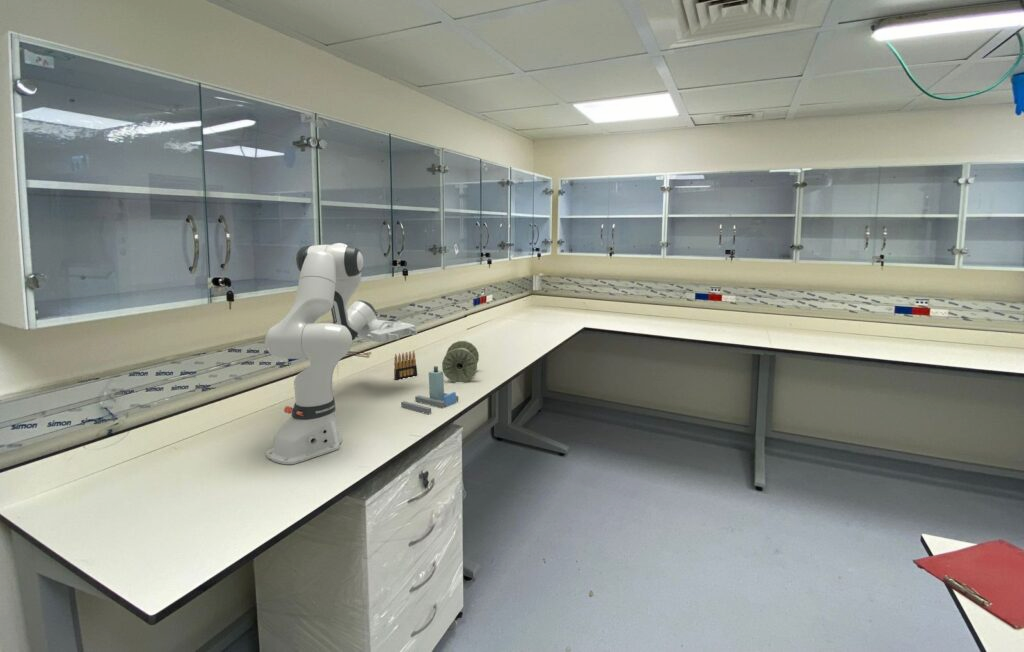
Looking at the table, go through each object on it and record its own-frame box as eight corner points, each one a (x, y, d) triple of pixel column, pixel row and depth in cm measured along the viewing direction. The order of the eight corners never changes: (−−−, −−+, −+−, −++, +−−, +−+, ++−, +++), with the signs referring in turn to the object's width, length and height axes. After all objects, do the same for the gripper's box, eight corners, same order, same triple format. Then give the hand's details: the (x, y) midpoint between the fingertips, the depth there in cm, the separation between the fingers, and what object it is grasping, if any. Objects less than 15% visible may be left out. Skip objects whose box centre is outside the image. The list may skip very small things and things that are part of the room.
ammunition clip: (415, 374, 237) (414, 349, 235) (417, 375, 236) (416, 350, 234) (394, 379, 231) (392, 353, 229) (396, 380, 229) (394, 354, 227)
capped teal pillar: (437, 403, 199) (436, 368, 196) (429, 401, 201) (428, 367, 199) (444, 400, 203) (443, 366, 200) (436, 398, 205) (435, 364, 202)
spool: (477, 382, 225) (476, 349, 222) (442, 383, 225) (441, 349, 222) (478, 371, 241) (478, 340, 238) (446, 372, 241) (445, 341, 238)
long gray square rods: (428, 414, 188) (428, 404, 187) (401, 407, 196) (400, 397, 195) (458, 401, 202) (458, 391, 201) (432, 394, 210) (431, 385, 209)
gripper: (362, 328, 204) (387, 331, 196) (400, 319, 220) (424, 322, 213) (364, 343, 205) (388, 347, 197) (401, 334, 222) (425, 337, 214)
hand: (407, 334), depth 205 cm, fingers open, 8 cm apart
